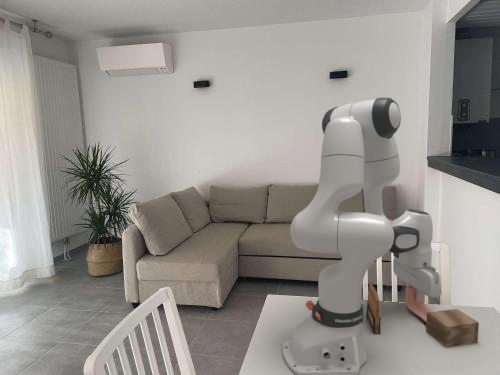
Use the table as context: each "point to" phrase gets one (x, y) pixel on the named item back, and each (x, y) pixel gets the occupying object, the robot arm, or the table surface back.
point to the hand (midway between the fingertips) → (414, 298)
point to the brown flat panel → (373, 310)
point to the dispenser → (452, 327)
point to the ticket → (416, 303)
